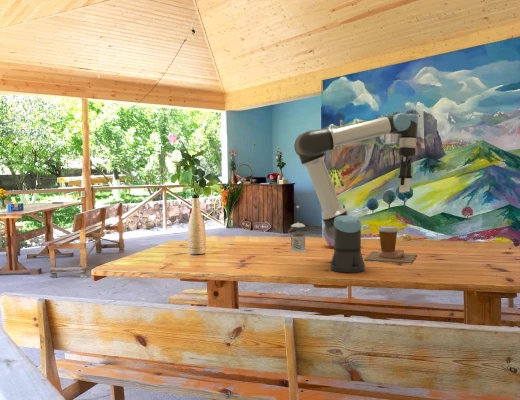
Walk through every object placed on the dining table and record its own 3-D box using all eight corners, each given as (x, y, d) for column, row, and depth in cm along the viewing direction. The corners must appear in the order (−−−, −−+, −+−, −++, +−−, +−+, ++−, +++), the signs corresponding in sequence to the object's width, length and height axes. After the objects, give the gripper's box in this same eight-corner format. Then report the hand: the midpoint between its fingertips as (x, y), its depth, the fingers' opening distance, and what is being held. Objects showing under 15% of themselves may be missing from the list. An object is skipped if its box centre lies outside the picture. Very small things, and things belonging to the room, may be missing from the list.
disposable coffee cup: (400, 252, 215) (400, 228, 215) (380, 252, 216) (380, 228, 215) (395, 249, 225) (395, 225, 224) (376, 249, 225) (376, 225, 225)
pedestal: (411, 264, 208) (411, 255, 208) (364, 260, 217) (364, 252, 217) (416, 255, 228) (416, 248, 228) (373, 253, 237) (373, 245, 237)
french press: (299, 252, 243) (299, 206, 241) (283, 250, 251) (282, 205, 249) (310, 250, 250) (310, 205, 248) (294, 247, 258) (294, 204, 256)
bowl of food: (323, 244, 269) (323, 224, 268) (357, 244, 265) (357, 225, 264) (321, 249, 249) (321, 229, 249) (358, 250, 245) (358, 229, 245)
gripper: (411, 145, 199) (408, 193, 201) (419, 149, 222) (416, 191, 223) (394, 145, 203) (391, 192, 204) (403, 148, 225) (400, 190, 226)
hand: (404, 192), depth 214 cm, fingers open, 13 cm apart
